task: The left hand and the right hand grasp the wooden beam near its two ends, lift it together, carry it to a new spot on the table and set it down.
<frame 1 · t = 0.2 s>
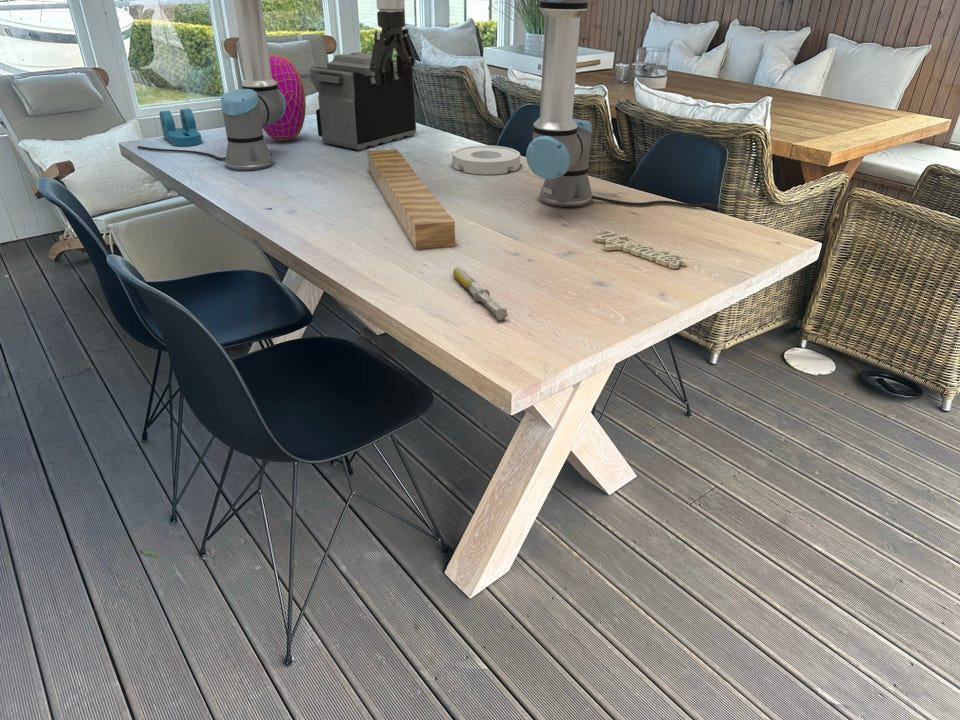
left hand: (395, 80, 221), 27 cm above the table, tool pointing down, fingers open, 13 cm apart
right hand: (394, 93, 197), 28 cm above the table, tool pointing down, fingers open, 13 cm apart
decorative egg: (284, 140, 265), on the table
decorative sign: (635, 252, 168), on the table
electronic device: (368, 139, 267), on the table
syringe: (478, 297, 145), on the table
wooden beam: (405, 202, 200), on the table
ashtray: (486, 165, 236), on the table
camera mount: (184, 141, 262), on the table
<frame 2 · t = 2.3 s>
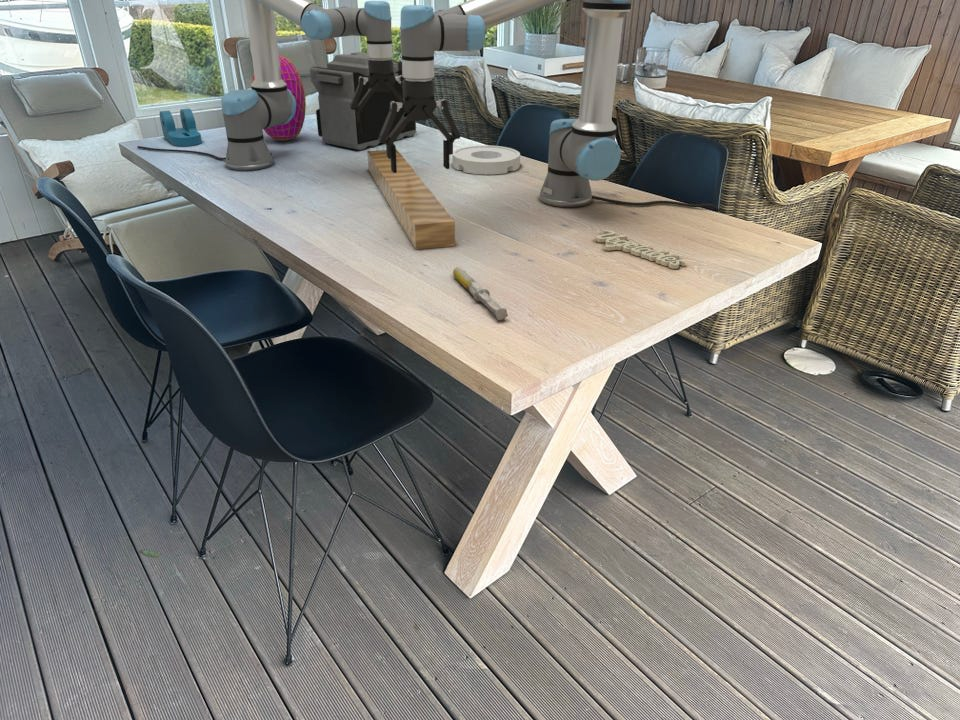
left hand: (384, 131, 217), 14 cm above the table, tool pointing down, fingers open, 13 cm apart
right hand: (420, 169, 172), 16 cm above the table, tool pointing down, fingers open, 13 cm apart
nothing on the table moved.
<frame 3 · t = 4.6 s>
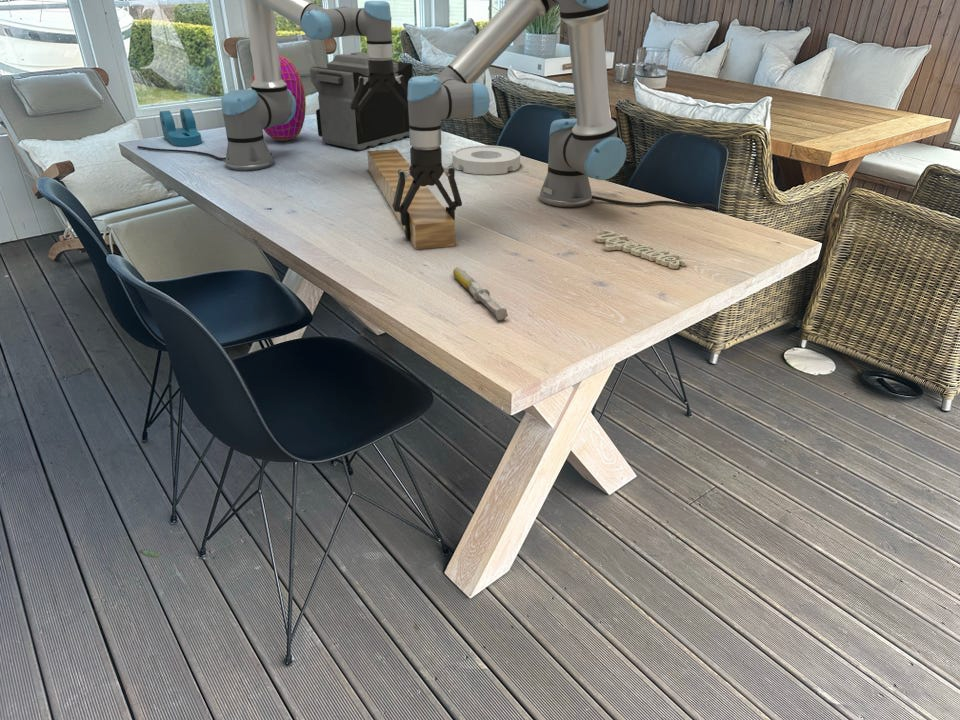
left hand: (384, 131, 217), 14 cm above the table, tool pointing down, fingers open, 13 cm apart
right hand: (428, 235, 175), 1 cm above the table, tool pointing down, fingers closed on wooden beam, 10 cm apart
wooden beam: (405, 202, 200), on the table, touching right hand
everything else where it was.
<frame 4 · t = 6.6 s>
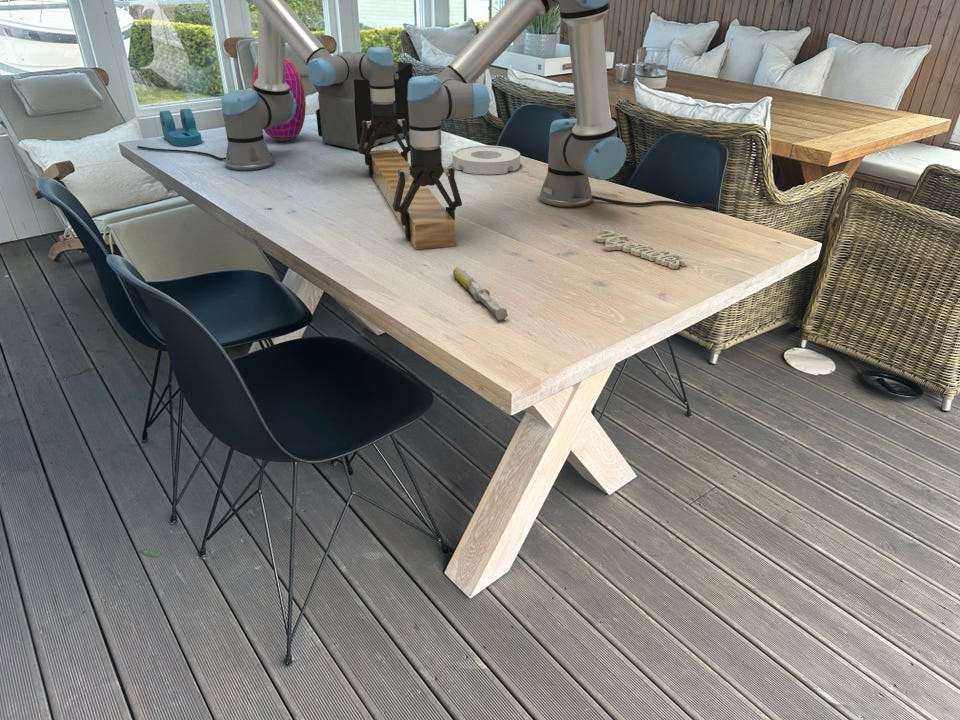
left hand: (387, 174, 224), 1 cm above the table, tool pointing down, fingers closed on wooden beam, 10 cm apart
right hand: (428, 235, 175), 1 cm above the table, tool pointing down, fingers closed on wooden beam, 10 cm apart
wooden beam: (405, 202, 200), on the table, touching right hand, left hand
everything else where it was.
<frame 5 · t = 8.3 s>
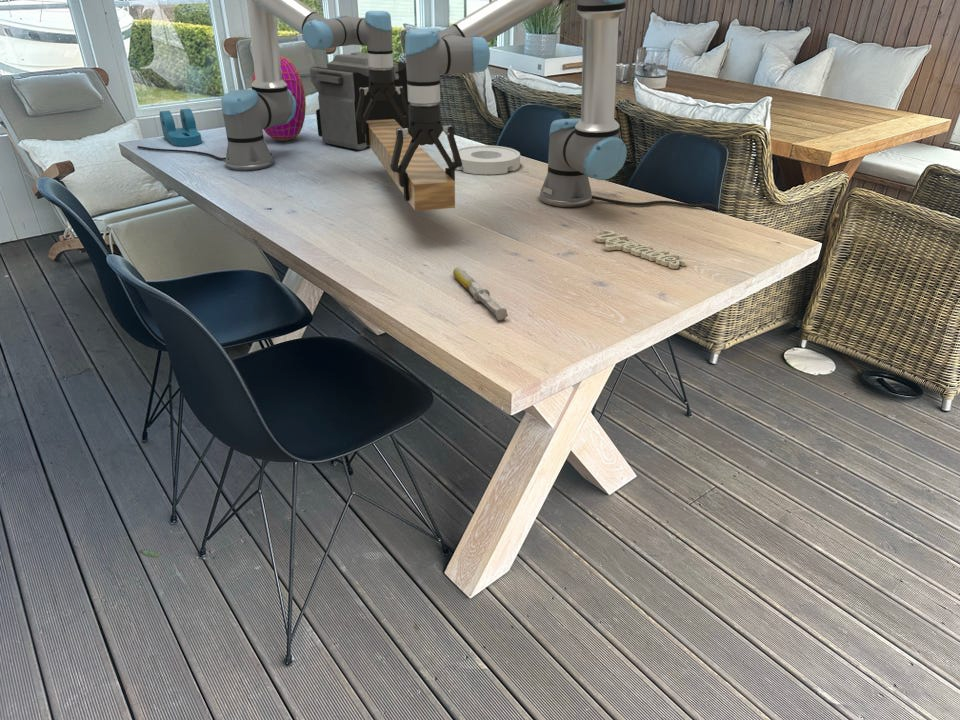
left hand: (384, 143, 219), 10 cm above the table, tool pointing down, fingers closed on wooden beam, 10 cm apart
right hand: (427, 197, 171), 10 cm above the table, tool pointing down, fingers closed on wooden beam, 10 cm apart
wooden beam: (403, 169, 195), point 10 cm above the table, touching right hand, left hand
everything else where it was.
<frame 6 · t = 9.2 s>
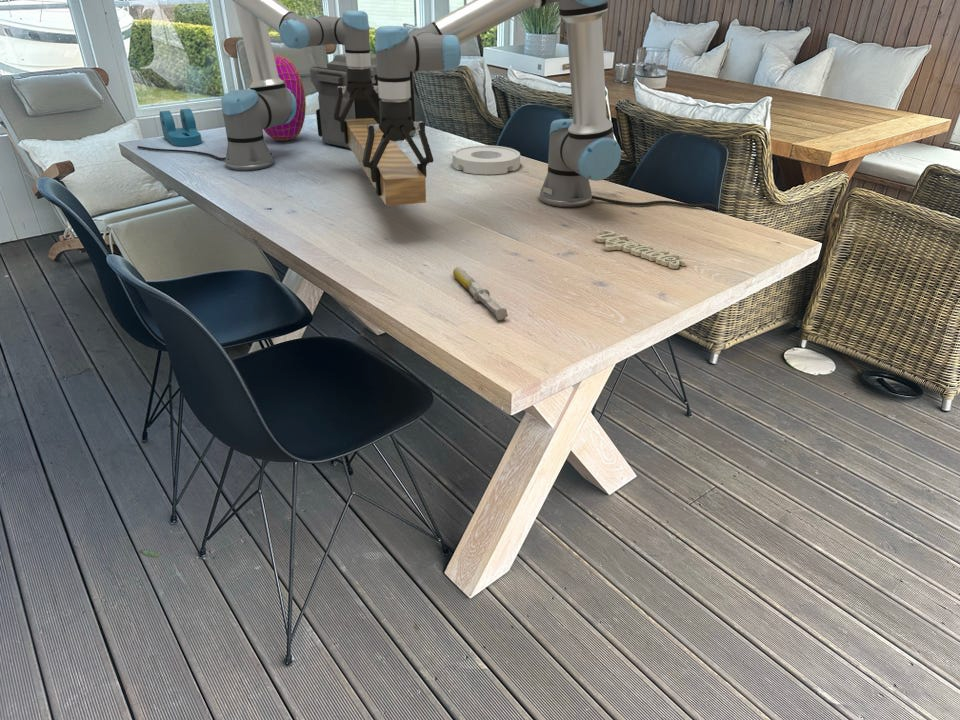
left hand: (363, 141, 221), 10 cm above the table, tool pointing down, fingers closed on wooden beam, 10 cm apart
right hand: (399, 192, 173), 11 cm above the table, tool pointing down, fingers closed on wooden beam, 10 cm apart
wooden beam: (379, 166, 197), point 10 cm above the table, touching right hand, left hand
everything else where it was.
when the left hand's fingers open (2 cm above the table, at t = 12.1 s): wooden beam drops 1 cm, on the table.
when the right hand's fingers open (2 cm above the table, at t = 12.1 s): wooden beam drops 1 cm, on the table.
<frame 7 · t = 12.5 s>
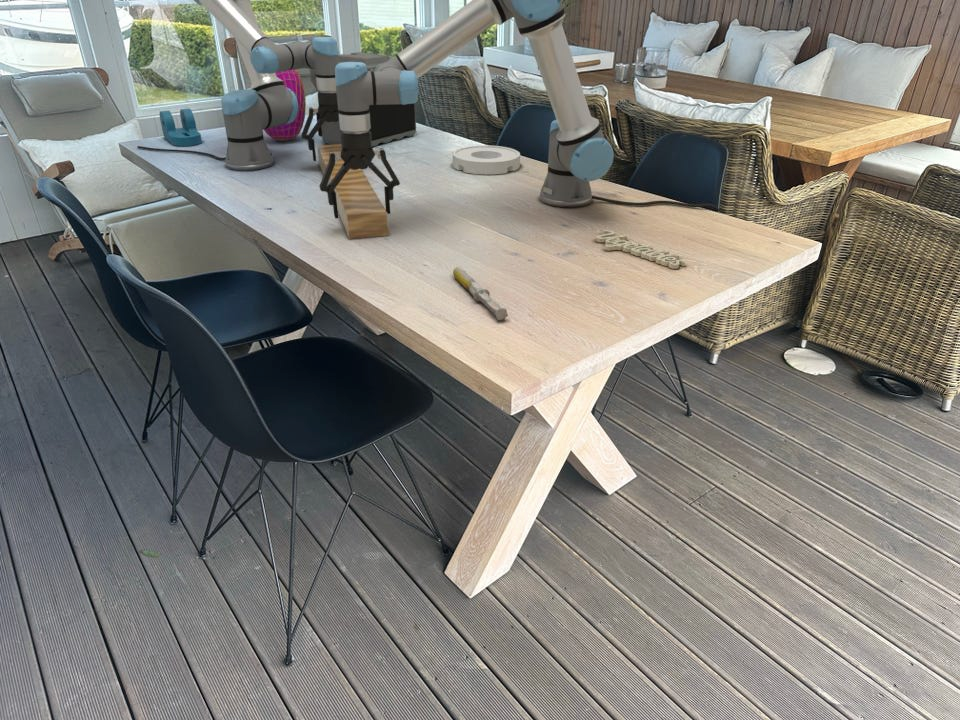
left hand: (335, 159, 228), 4 cm above the table, tool pointing down, fingers open, 13 cm apart
right hand: (362, 214, 180), 3 cm above the table, tool pointing down, fingers open, 13 cm apart
wooden beam: (348, 194, 206), on the table
everything else where it was.
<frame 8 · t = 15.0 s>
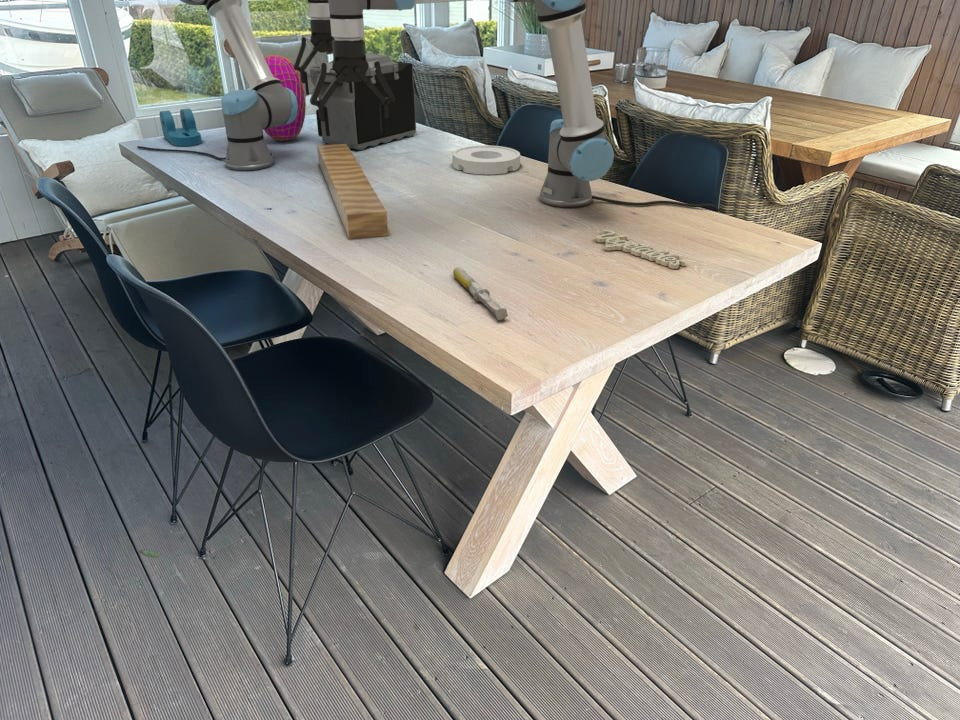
left hand: (329, 93, 217), 24 cm above the table, tool pointing down, fingers open, 13 cm apart
right hand: (355, 133, 169), 24 cm above the table, tool pointing down, fingers open, 13 cm apart
nothing on the table moved.
at the end: wooden beam inside the target area (0.1 cm from its centre), on the table; wooden beam tilted 0°; wooden beam never tilted more than 1° during the clip; both hands held the wooden beam at the same time; the left hand is holding nothing; the right hand is holding nothing; wooden beam at rest at the end (0.0 cm/s) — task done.
